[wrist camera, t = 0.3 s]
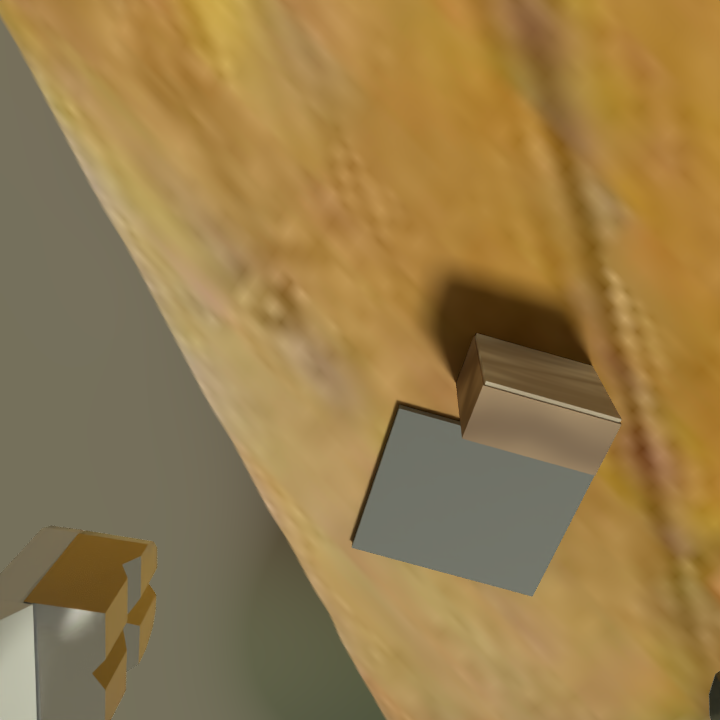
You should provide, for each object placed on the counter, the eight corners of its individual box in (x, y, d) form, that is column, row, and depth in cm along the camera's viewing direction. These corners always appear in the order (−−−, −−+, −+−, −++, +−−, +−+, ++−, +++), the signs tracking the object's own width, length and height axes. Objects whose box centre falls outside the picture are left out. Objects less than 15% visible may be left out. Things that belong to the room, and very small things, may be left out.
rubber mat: (399, 404, 52) (399, 408, 51) (598, 460, 52) (599, 464, 52) (352, 542, 57) (351, 547, 57) (531, 591, 58) (532, 596, 57)
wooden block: (475, 332, 49) (484, 381, 41) (593, 365, 49) (623, 420, 42) (456, 382, 50) (461, 438, 43) (570, 415, 51) (595, 475, 44)
